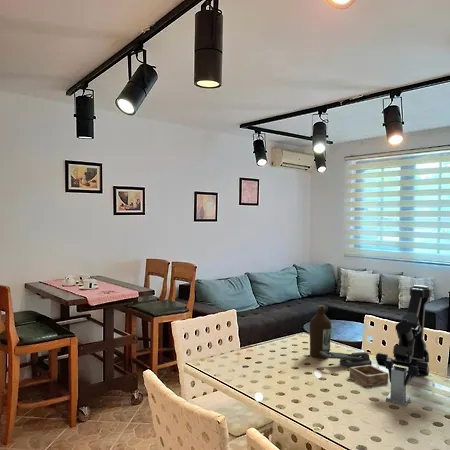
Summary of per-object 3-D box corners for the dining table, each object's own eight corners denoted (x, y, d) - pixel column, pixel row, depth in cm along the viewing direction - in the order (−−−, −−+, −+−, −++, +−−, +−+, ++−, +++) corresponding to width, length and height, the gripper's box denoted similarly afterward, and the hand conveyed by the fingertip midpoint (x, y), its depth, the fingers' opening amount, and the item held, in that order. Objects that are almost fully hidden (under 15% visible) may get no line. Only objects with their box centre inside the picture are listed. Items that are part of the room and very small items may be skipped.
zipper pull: (317, 350, 197) (363, 346, 205) (317, 364, 198) (362, 360, 205) (327, 356, 189) (374, 352, 197) (327, 371, 189) (374, 366, 197)
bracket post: (390, 394, 165) (391, 364, 165) (409, 399, 161) (410, 368, 161) (386, 400, 159) (387, 369, 159) (405, 405, 155) (406, 373, 155)
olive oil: (304, 355, 210) (305, 305, 210) (316, 351, 217) (317, 302, 217) (322, 361, 202) (324, 309, 202) (334, 356, 210) (336, 306, 209)
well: (369, 373, 188) (370, 364, 188) (387, 382, 177) (388, 373, 177) (349, 376, 184) (349, 367, 184) (366, 385, 173) (367, 376, 173)
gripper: (377, 332, 168) (368, 367, 160) (428, 341, 158) (422, 379, 149) (382, 347, 175) (373, 381, 166) (431, 356, 164) (425, 394, 155)
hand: (397, 383), depth 159 cm, fingers open, 5 cm apart
